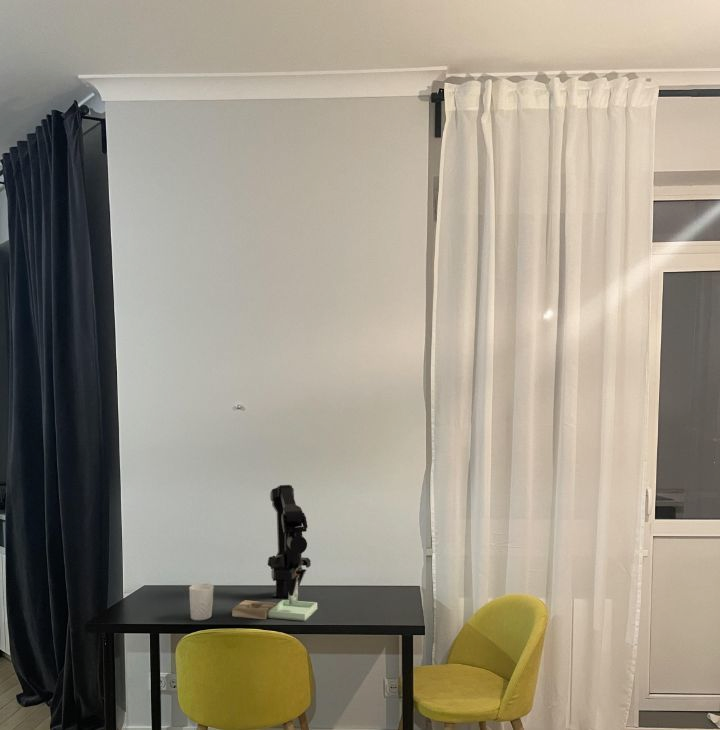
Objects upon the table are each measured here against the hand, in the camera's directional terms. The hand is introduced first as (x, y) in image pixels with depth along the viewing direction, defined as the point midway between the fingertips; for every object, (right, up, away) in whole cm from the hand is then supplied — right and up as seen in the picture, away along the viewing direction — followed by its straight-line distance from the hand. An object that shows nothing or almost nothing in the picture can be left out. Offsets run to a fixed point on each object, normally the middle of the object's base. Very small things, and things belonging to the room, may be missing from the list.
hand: (293, 593), depth 200 cm
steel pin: (0, -3, 0) cm, 3 cm away
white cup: (-31, -7, -3) cm, 32 cm away
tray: (0, -6, -1) cm, 6 cm away
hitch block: (-13, -7, 0) cm, 15 cm away
